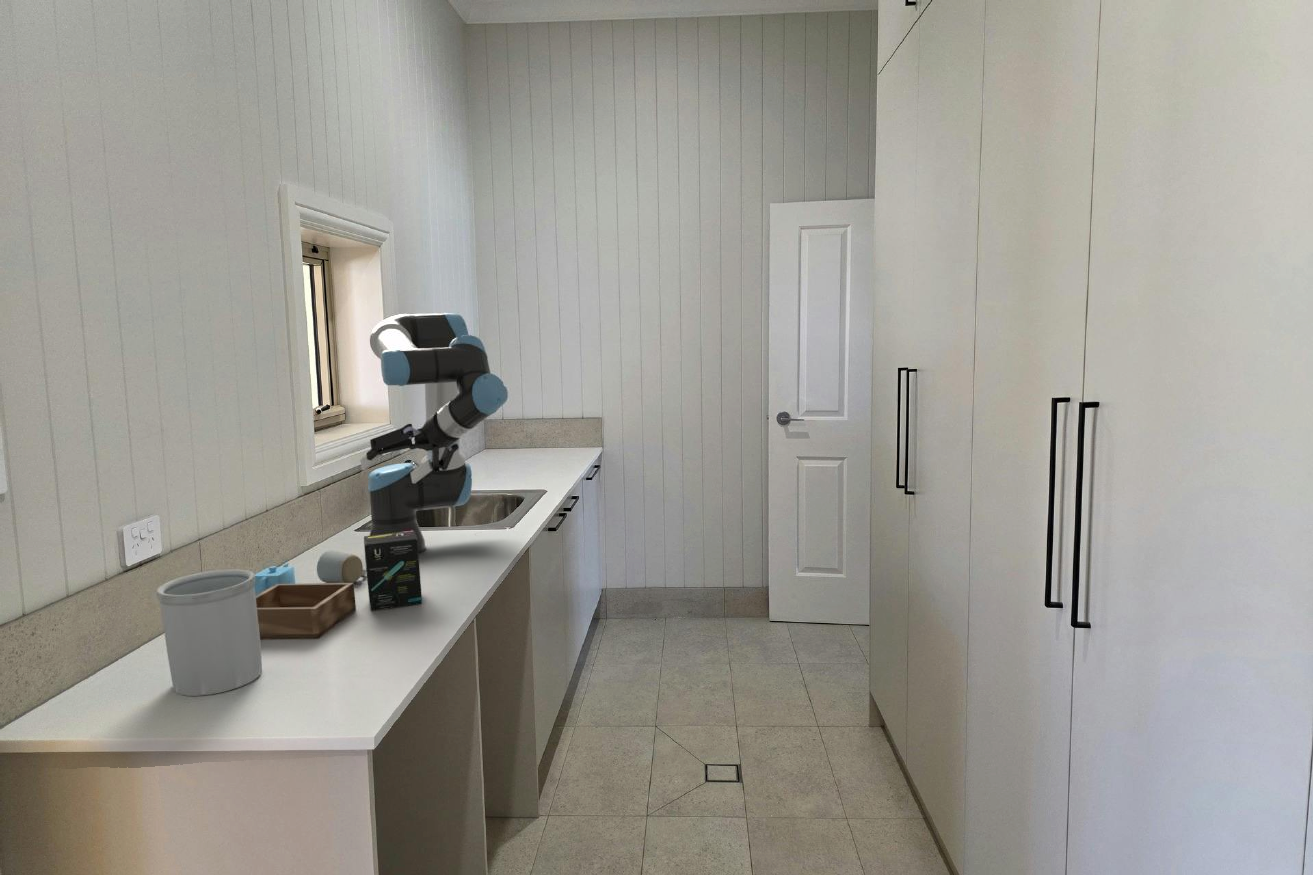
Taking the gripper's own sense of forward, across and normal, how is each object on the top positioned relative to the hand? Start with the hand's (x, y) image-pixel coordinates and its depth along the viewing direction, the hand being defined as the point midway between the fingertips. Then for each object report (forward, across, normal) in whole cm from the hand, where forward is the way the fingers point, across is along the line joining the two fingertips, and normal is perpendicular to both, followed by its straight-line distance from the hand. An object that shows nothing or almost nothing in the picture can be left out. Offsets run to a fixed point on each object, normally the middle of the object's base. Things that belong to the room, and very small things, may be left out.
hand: (388, 472), depth 193 cm
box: (+16, -15, -31) cm, 38 cm away
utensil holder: (+8, -36, -47) cm, 60 cm away
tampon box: (+9, +4, -28) cm, 29 cm away
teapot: (+33, -8, -17) cm, 38 cm away
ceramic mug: (+29, +7, -13) cm, 32 cm away
